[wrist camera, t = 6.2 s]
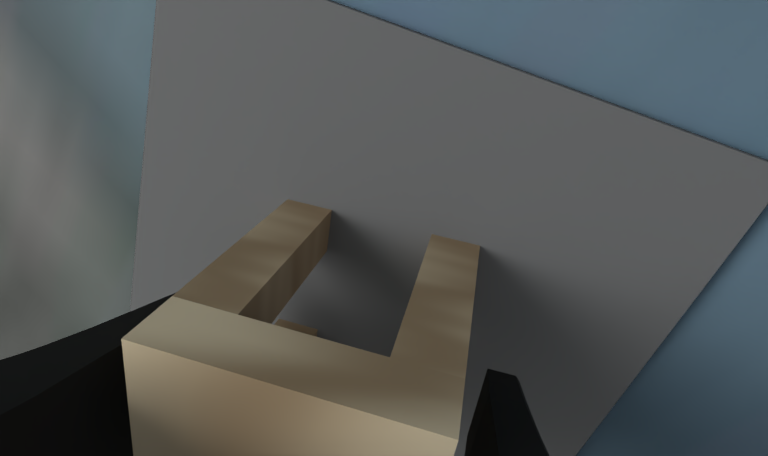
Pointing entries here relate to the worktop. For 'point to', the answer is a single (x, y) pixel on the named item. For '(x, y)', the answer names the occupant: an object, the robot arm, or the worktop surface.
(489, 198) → the mat
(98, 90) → the worktop surface
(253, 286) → the stool
